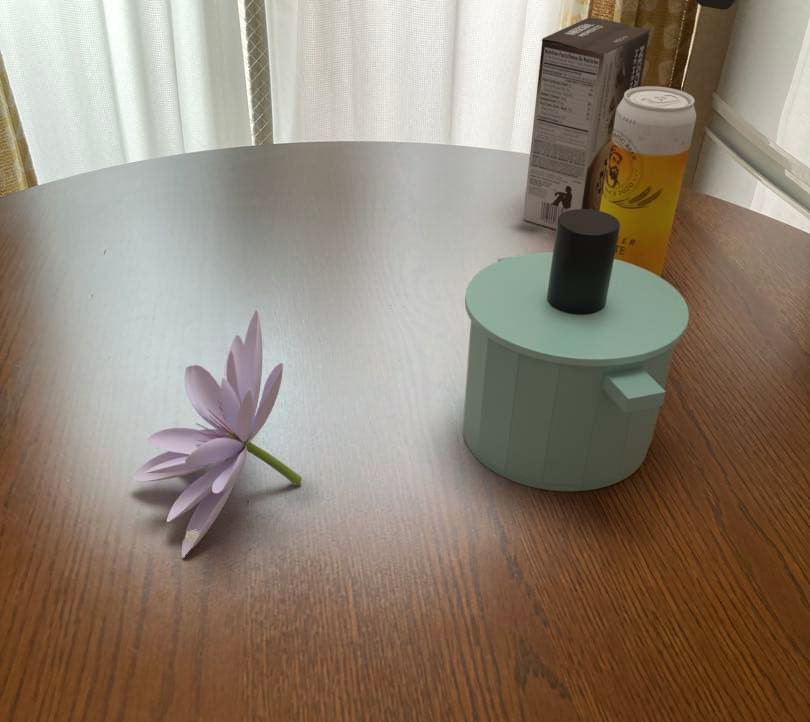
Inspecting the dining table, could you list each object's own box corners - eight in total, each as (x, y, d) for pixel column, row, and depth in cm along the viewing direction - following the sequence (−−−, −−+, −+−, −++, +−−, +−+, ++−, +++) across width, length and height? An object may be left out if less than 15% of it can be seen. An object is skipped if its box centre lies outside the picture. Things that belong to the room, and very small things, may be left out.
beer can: (575, 270, 82) (603, 89, 71) (633, 259, 83) (668, 81, 73) (613, 300, 77) (648, 113, 67) (672, 288, 79) (716, 104, 69)
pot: (576, 353, 71) (596, 235, 65) (706, 495, 59) (747, 366, 52) (423, 380, 68) (428, 258, 61) (526, 536, 55) (546, 403, 49)
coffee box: (564, 191, 95) (588, 15, 84) (621, 207, 92) (654, 27, 81) (519, 220, 89) (539, 35, 78) (578, 237, 87) (607, 49, 76)
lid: (616, 256, 64) (633, 166, 60) (729, 354, 54) (758, 256, 50) (432, 282, 60) (437, 189, 56) (519, 392, 51) (531, 290, 47)
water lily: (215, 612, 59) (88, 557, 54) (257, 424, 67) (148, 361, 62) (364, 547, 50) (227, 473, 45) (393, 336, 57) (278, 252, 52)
